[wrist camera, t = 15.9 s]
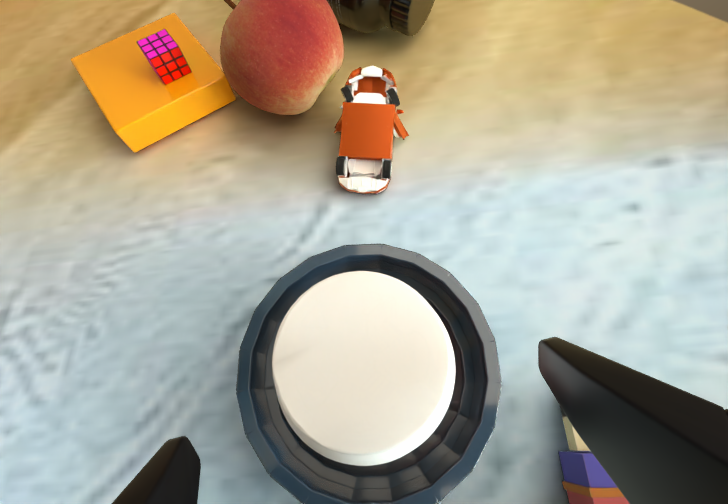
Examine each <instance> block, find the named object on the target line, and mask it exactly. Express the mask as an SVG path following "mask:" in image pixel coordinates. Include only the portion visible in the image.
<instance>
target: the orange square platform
mask: <svg viewBox="0 0 728 504" xmlns="http://www.w3.org/2000/svg"><path fill="white" fill-rule="evenodd" d="M71 62H72V63H73V65H74V67H75V68H76V70H77V72H78V73H79V75H80V76H81V78H82V80H83V81H84V83H85V84H86V86H87V88H88V89H89V91H90V93H91V94H92V96H93V97H94V99H95V101H96V102H97V104H98V105H99V107H100V109H101V110H102V112H103V114H104V115H105V117H106V118H107V120H108V122H109V123H110V125H111V127H112V128H113V130H114V131H115V133H116V134H117V135H118V136H119V137H120V138H121V139H122V140H123V141H124V143H125V144H126V145H127V146H128V147H129V148H130V149H131V150H132V151H133V152H134V153H136V152H138V151H139V150H141V149H143V148H145V147H147V146H149V145H151V144H153V143H155V142H157V141H158V140H160V139H162V138H164V137H166V136H168V135H170V134H172V133H174V132H175V131H177V130H179V129H181V128H183V127H185V126H187V125H189V124H191V123H193V122H194V121H196V120H198V119H200V118H202V117H204V116H206V115H208V114H210V113H212V112H213V111H215V110H217V109H219V108H221V107H223V106H225V105H227V104H229V103H231V102H232V101H234V100H236V98H235V95H234V93H233V90H232V88H231V86H230V84H229V82H228V80H227V78H226V76H225V74H224V72H223V71H222V70H221V68H220V67H219V66H218V65H217V64H216V62H215V61H214V60H213V59H212V58H211V56H210V55H209V54H208V53H207V51H206V50H205V49H204V48H203V47H202V45H201V44H200V43H199V42H198V41H197V39H196V38H195V37H194V36H193V34H192V33H191V32H190V31H189V30H188V28H187V27H186V26H185V25H184V23H183V22H182V21H181V20H180V19H179V17H178V16H177V15H176V14H175V13H172V14H170V15H168V16H165V17H163V18H161V19H159V20H157V21H154V22H152V23H150V24H148V25H145V26H143V27H141V28H139V29H136V30H134V31H132V32H130V33H127V34H125V35H123V36H121V37H119V38H116V39H114V40H112V41H110V42H107V43H105V44H103V45H101V46H98V47H96V48H94V49H92V50H89V51H87V52H85V53H83V54H81V55H78V56H76V57H74V58H72V59H71Z"/></svg>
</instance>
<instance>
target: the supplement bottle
mask: <svg viewBox="0 0 728 504" xmlns="http://www.w3.org/2000/svg"><path fill="white" fill-rule="evenodd" d="M326 1H327V2H328V4H329V5H330V7H331V9H332V11H333V13H334V15H335V17H336V19H337V22H338V23H340V24H342V25H345V26H347V27H349V28H351V29H354V30H356V31H359V32H362V33H372V32H375V31H378V30H379V29H381V28H382V27H383V26H385V25H386V26H387V27H388V28H389V29H391V30H393V31H398V32H401V33H403V34H405V35H408V36H413V35H415V34H416V33H418V32H419V30H420V29H421V28H422V26H423V25H424V23H425V21H426V20H427V18H428V15H429V13H430V11H431V9H432V6H433V3H434V1H435V0H326Z"/></svg>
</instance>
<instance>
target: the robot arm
mask: <svg viewBox="0 0 728 504" xmlns="http://www.w3.org/2000/svg"><path fill="white" fill-rule="evenodd" d="M538 359H539V369H540V372H541V374H542V376H543V378H544V379H545V381H546V383H547V384H548V386H549V388H550V389H551V391H552V393H553V394H554V396H555V398H556V399H557V401H558V403H559V404H560V406H561V408H562V409H563V411H564V413H565V414H566V416H567V418H568V419H569V421H570V423H571V424H572V426H573V427H574V429H575V430H576V432H577V433H578V435H579V436H580V437H581V439H582V440H583V442H584V443H585V444H586V446H587V447H588V448H589V450H590V451H591V452H592V454H593V455H594V456H595V458H596V459H597V460H598V462H599V463H600V464H601V466H602V467H603V468H604V470H605V471H606V472H607V474H608V475H609V476H610V478H611V479H612V480H613V482H614V483H615V485H616V486H617V487H618V489H619V490H620V491H621V493H622V494H623V495H624V497H625V498H626V499H627V501H628V502H629V503H630V504H728V409H725V410H724V409H723V407H721V406H719V405H716V404H714V403H712V402H709V401H707V400H705V399H702V398H700V397H697V396H695V395H693V394H690V393H688V392H686V391H683V390H681V389H678V388H676V387H674V386H671V385H669V384H667V383H664V382H662V381H660V380H657V379H655V378H652V377H650V376H648V375H645V374H643V373H641V372H638V371H636V370H633V369H631V368H629V367H626V366H624V365H622V364H619V363H617V362H615V361H612V360H610V359H607V358H605V357H603V356H600V355H598V354H596V353H593V352H591V351H588V350H586V349H584V348H581V347H579V346H577V345H574V344H572V343H569V342H567V341H565V340H562V339H560V338H557V337H551V338H548V339H544V340H541V341H540V342H539V346H538ZM200 469H201V463H200V459H199V456H198V454H197V453H196V451H195V449H194V447H193V446H192V444H191V442H190V441H189V439H188V438H187V437H186V436H181V437H177V438H173V439H170V440H168V441H166V442H165V443H164V445H163V446H162V447H161V448H160V449H159V450H158V451H157V453H156V454H155V455H154V456H153V457H152V458H151V459H150V461H149V462H148V463H147V464H146V465H145V466H144V467H143V468H142V470H141V471H140V472H139V473H138V474H137V475H136V476H135V478H134V479H133V480H132V481H131V482H130V483H129V484H128V486H127V487H126V488H125V489H124V490H123V491H122V492H121V494H120V495H119V496H118V497H117V498H116V499H115V500H114V502H113V503H112V504H197V500H198V490H199V479H200Z"/></svg>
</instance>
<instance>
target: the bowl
mask: <svg viewBox="0 0 728 504" xmlns="http://www.w3.org/2000/svg"><path fill="white" fill-rule="evenodd" d="M354 271H370V272H377V273H381V274H385V275H388V276H391V277H393V278H396V279H398V280H400V281H402V282H404V283H405V284H407V285H409V286H410V287H412V288H413V289H414V290H416V291H417V292H418V293H419V294H420V295H421V296H422V297H423V298H424V299H425V300H426V301H427V302H428V303H429V305H430V306H431V307H432V308H433V309H434V311H435V312H436V313H437V315H438V316H439V318H440V319H441V321H442V323H443V324H444V326H445V328H446V330H447V332H448V335H449V338H450V340H451V344H452V347H453V352H454V358H455V382H454V389H453V394H452V397H451V401H450V404H449V407H448V409H447V411H446V413H445V415H444V417H443V419H442V420H441V422H440V424H439V425H438V427H437V428H436V429H435V431H434V432H433V433H432V434H431V435H430V436H429V438H428V439H427V440H425V441H424V442H423V443H422V444H421V445H420V446H418V447H417V448H415V449H414V450H412V451H411V452H409V453H408V454H406V455H404V456H402V457H401V458H398V459H396V460H393V461H391V462H388V463H384V464H379V465H371V466H357V465H349V464H344V463H340V462H337V461H334V460H331V459H329V458H326V457H324V456H323V455H321V454H319V453H318V452H316V451H314V450H313V449H312V448H310V447H309V446H308V445H307V444H306V443H304V442H303V441H302V440H301V439H300V437H299V436H298V435H297V434H296V433H295V432H294V430H293V429H292V428H291V426H290V425H289V423H288V421H287V419H286V418H285V416H284V414H283V411H282V409H281V406H280V404H279V401H278V398H277V394H276V389H275V384H274V380H273V371H272V355H273V349H274V343H275V339H276V335H277V332H278V330H279V327H280V325H281V323H282V321H283V319H284V317H285V315H286V314H287V312H288V311H289V309H290V308H291V306H292V305H293V304H294V303H295V302H296V301H297V299H298V298H299V297H300V296H301V295H302V294H303V293H305V292H306V291H307V290H308V289H310V288H311V287H312V286H314V285H315V284H317V283H318V282H320V281H322V280H324V279H326V278H329V277H331V276H334V275H337V274H341V273H346V272H354ZM501 382H502V381H501V374H500V368H499V361H498V354H497V347H496V342H495V338H494V336H493V334H492V332H491V330H490V327H489V325H488V323H487V321H486V319H485V317H484V315H483V313H482V311H481V308H480V306H479V304H478V303H477V302H476V300H475V299H474V298H473V297H472V296H471V295H470V294H469V293H468V291H467V290H466V289H465V288H464V287H463V286H462V285H461V284H460V283H459V281H458V280H457V279H456V278H455V277H454V276H453V275H452V274H450V272H449V271H447V270H445V269H444V268H442V267H440V266H439V265H437V264H435V263H434V262H432V261H430V260H429V259H427V258H426V257H424V256H422V255H421V254H418V253H416V252H412V251H408V250H405V249H401V248H397V247H393V246H389V245H385V244H362V245H346V246H345V245H344V246H341V247H338V248H335V249H332V250H329V251H326V252H323V253H320V254H318V255H315V256H312V257H310V258H308V259H307V260H305V261H304V262H302V263H301V264H300V265H298V266H297V267H295V268H294V269H293V270H291V271H290V272H288V273H287V274H286V275H284V276H283V277H281V278H280V280H278V281H277V282H276V284H275V285H274V286H273V287H272V289H271V290H270V291H269V293H268V294H267V295H266V296H265V298H264V299H263V300H262V302H261V303H260V304H259V305H258V307H257V308H256V309H255V311H254V313H253V316H252V318H251V321H250V323H249V326H248V329H247V331H246V334H245V336H244V339H243V341H242V344H241V346H240V351H239V362H238V374H237V386H236V391H237V392H236V394H237V399H238V403H239V408H240V412H241V417H242V422H243V426H244V431H245V434H246V437H247V439H248V440H249V442H250V444H251V446H252V447H253V449H254V451H255V452H256V454H257V456H258V457H259V459H260V461H261V463H262V464H263V466H264V468H265V469H266V471H267V473H268V474H270V477H272V478H273V479H274V480H275V481H276V482H278V483H279V484H280V485H281V486H282V487H283V488H285V489H286V490H287V491H288V492H289V493H291V494H292V495H293V496H294V497H295V498H296V499H298V500H299V501H300V502H301V503H302V504H436V503H437V502H438V501H441V500H442V499H443V498H444V497H445V496H446V495H447V494H448V493H449V492H450V491H451V490H453V489H454V488H455V487H456V486H457V485H458V484H459V483H460V482H461V481H462V480H463V479H464V478H465V477H466V476H468V475H469V474H470V473H471V472H472V471H473V469H474V468H475V466H476V464H477V462H478V460H479V458H480V456H481V454H482V452H483V451H484V449H485V447H486V445H487V443H488V441H489V439H490V437H491V435H492V433H493V431H494V428H495V425H496V418H497V412H498V406H499V400H500V393H501V387H502V384H501Z"/></svg>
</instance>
